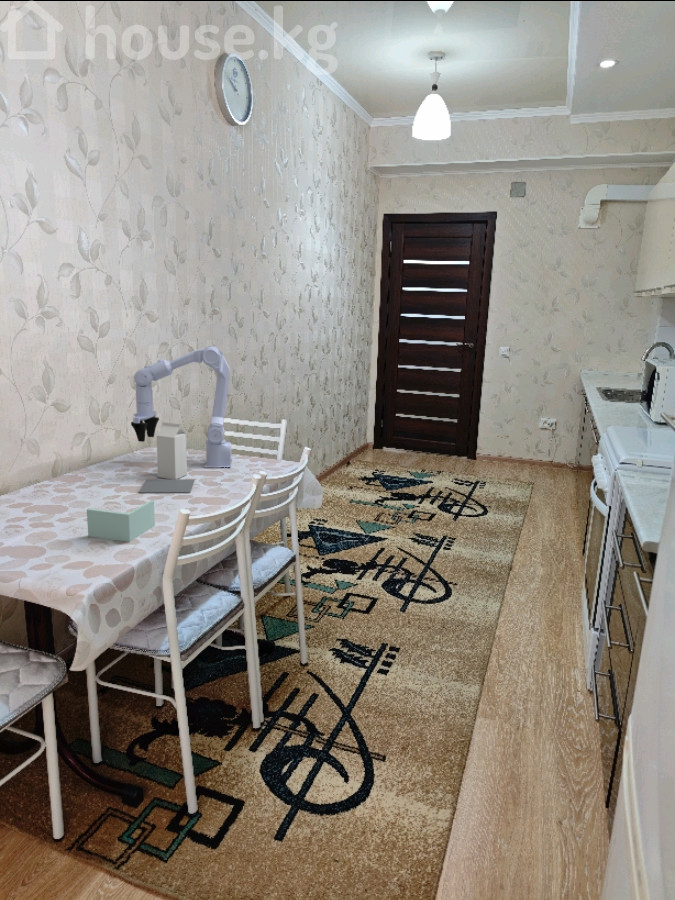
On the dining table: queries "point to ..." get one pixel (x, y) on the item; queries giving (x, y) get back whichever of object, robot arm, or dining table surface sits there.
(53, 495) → the dining table surface
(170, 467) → the milk carton
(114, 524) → the l-shaped corner panel
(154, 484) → the mat
